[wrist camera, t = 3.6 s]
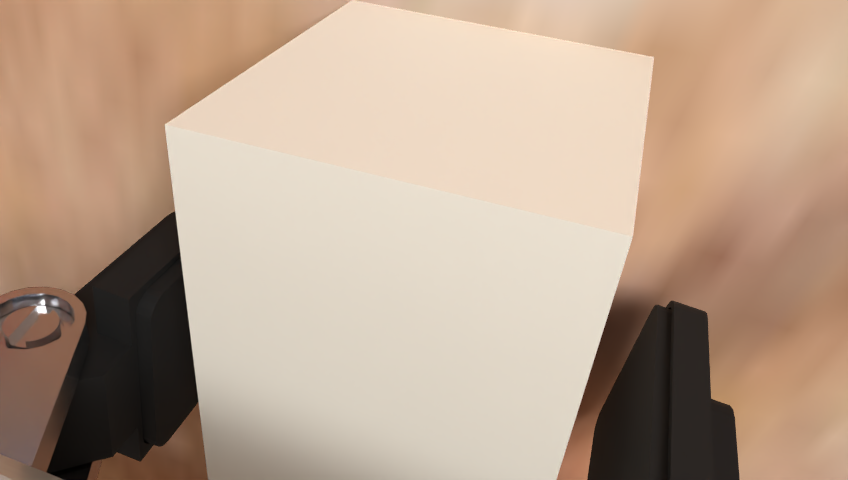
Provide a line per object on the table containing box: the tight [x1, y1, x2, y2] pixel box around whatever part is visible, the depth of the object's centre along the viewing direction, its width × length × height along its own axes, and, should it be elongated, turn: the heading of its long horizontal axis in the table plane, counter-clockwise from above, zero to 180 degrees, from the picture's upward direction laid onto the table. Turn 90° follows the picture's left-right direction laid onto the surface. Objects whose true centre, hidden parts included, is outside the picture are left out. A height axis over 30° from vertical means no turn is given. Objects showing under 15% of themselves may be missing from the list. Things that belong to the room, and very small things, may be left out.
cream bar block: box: [165, 0, 654, 480], centre depth 11 cm, size 4×9×5 cm, turn 173°
